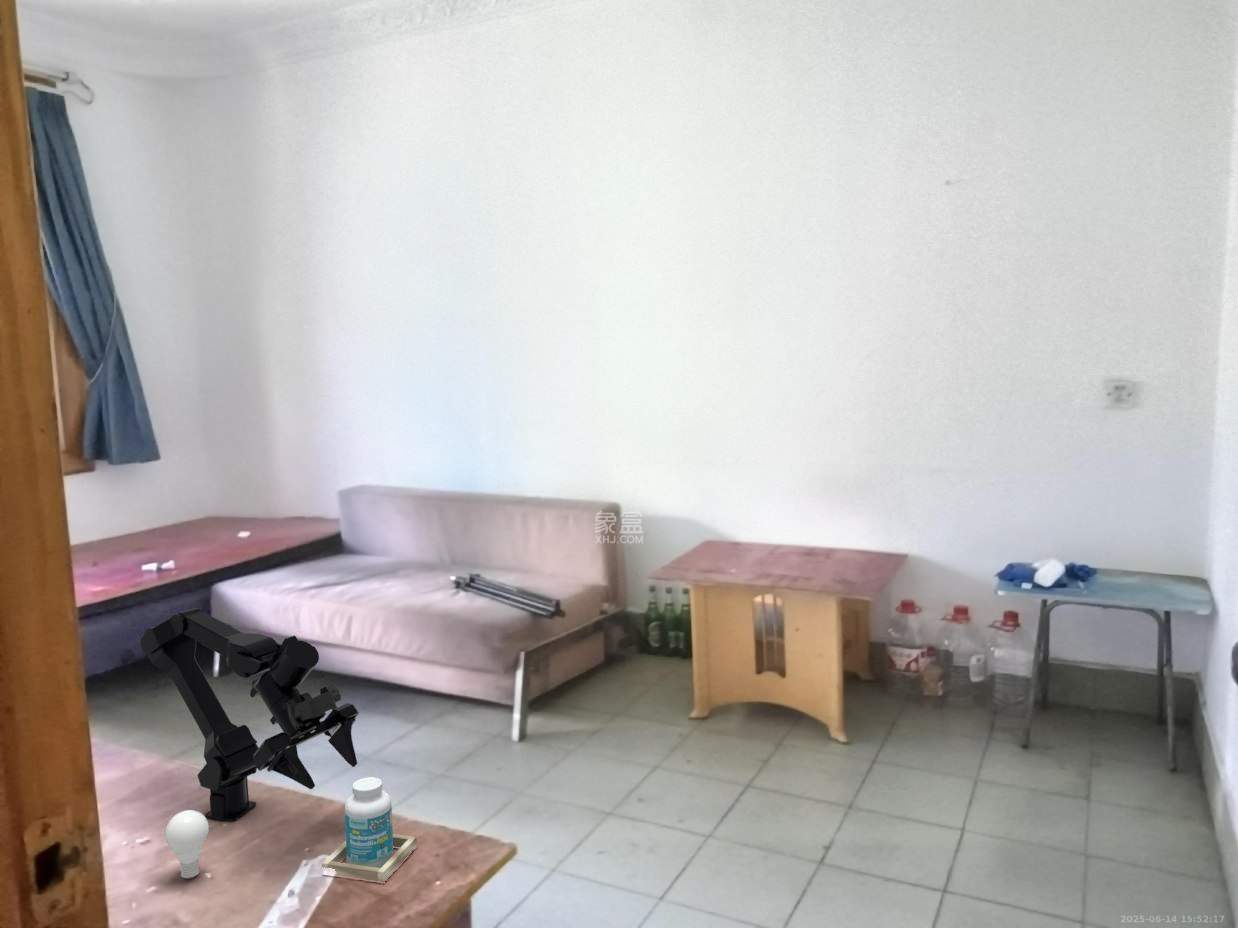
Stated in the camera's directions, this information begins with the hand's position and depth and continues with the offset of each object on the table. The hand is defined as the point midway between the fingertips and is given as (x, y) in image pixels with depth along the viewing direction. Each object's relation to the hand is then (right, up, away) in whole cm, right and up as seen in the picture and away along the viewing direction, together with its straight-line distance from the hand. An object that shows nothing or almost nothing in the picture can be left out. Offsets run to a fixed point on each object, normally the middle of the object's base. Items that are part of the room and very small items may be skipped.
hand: (334, 776), depth 154 cm
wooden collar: (+7, -13, -2) cm, 15 cm away
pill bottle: (+7, -14, -2) cm, 15 cm away
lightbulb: (-21, -14, -6) cm, 26 cm away
